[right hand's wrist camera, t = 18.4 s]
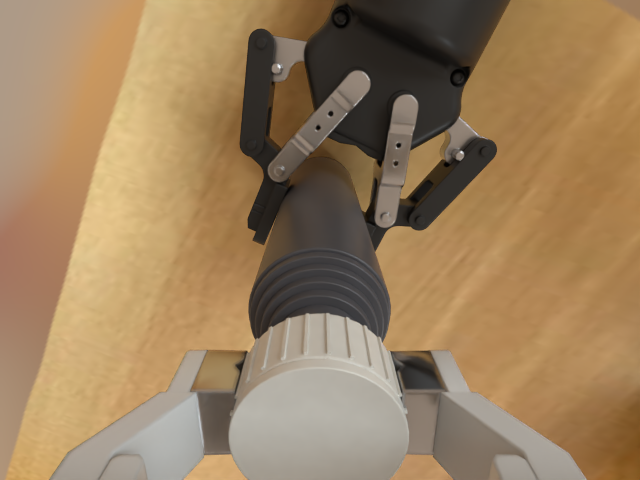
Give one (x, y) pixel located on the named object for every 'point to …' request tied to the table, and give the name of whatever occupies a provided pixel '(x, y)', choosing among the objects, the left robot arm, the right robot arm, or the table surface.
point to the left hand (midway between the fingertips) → (302, 254)
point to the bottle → (320, 255)
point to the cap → (318, 404)
